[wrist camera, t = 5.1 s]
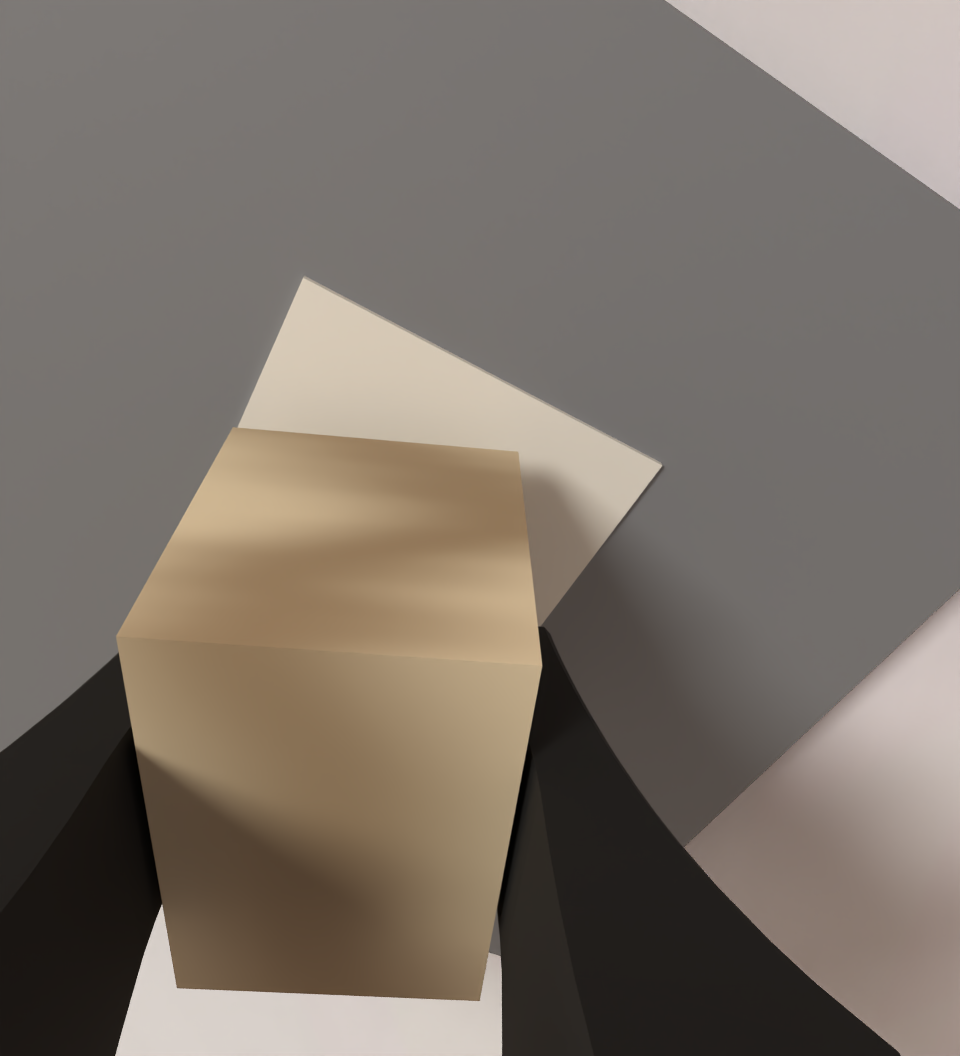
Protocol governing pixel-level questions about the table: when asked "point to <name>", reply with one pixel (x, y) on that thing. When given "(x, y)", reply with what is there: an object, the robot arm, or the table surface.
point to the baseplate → (484, 335)
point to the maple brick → (336, 714)
